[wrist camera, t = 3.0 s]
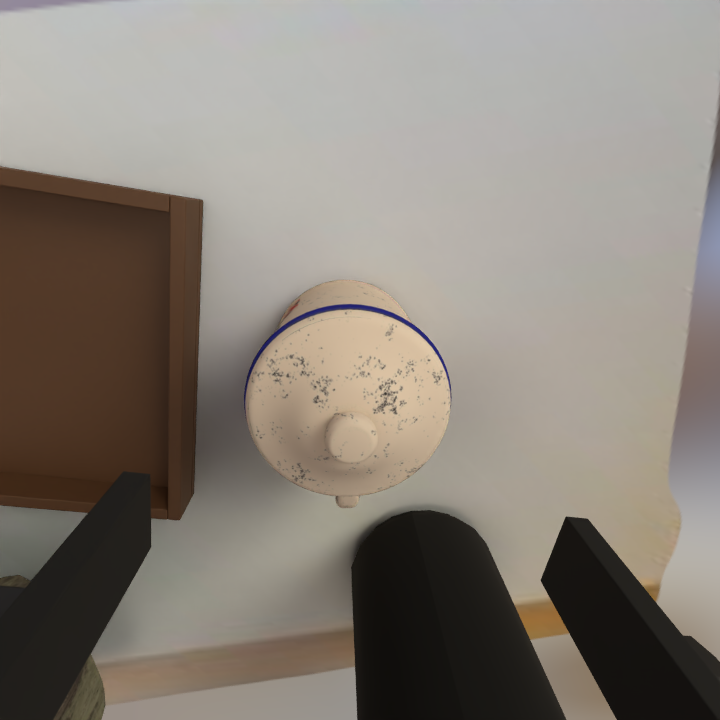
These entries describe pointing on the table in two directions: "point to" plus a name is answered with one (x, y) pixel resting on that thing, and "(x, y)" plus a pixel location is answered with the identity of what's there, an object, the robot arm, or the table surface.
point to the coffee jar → (440, 628)
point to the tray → (97, 341)
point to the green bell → (87, 692)
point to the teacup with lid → (347, 393)
